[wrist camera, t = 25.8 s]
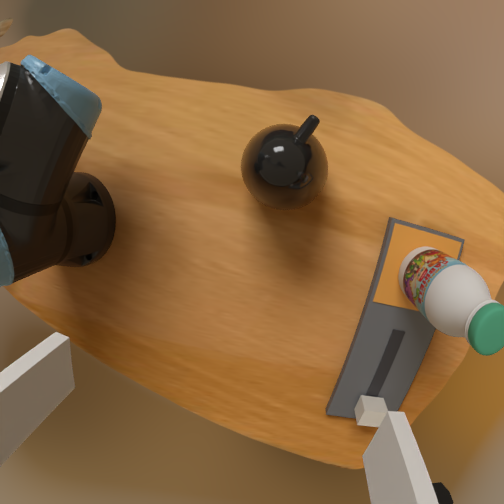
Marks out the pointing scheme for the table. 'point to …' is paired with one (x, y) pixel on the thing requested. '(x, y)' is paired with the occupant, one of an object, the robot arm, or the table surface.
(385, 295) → the board
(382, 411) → the handle
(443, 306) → the milk bottle
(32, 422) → the robot arm
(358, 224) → the table surface
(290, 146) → the pump dispenser
